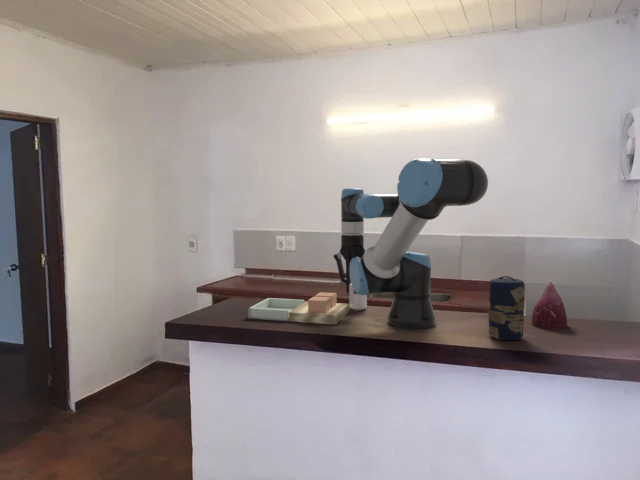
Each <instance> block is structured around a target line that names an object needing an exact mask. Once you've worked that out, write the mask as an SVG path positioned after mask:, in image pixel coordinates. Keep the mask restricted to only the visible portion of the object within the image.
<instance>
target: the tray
mask: <svg viewBox="0 0 640 480" xmlns="http://www.w3.org/2000/svg"><path fill="white" fill-rule="evenodd" d="M304 302H305V299H297V298H296V299H294V298H293V299H292V298H277V297H274V298H273V297H267V298H266V299H263V300H261V301H260V302H257V303H256V304H254V305H252V306H250V307H248V308H247V314H248V315H247V317H248V319H250V320H251V319H252V320H265V321H280V322H281V321H282V322H290V321H289V312H290V311H292V310H293V309H295V308H296V307H298V306H299V305H301V304H302V303H304Z"/></svg>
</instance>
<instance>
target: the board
mask: <svg viewBox="0 0 640 480" xmlns="http://www.w3.org/2000/svg"><path fill="white" fill-rule="evenodd" d="M349 313H350V304H349V303H341V302H338V303H337V304H336V305H335V306H334V307H333V308H331V309H330V310H329V311H328V312H327V313H316V312H308V300H307V301H304V303H302V304H301V305H299V306H298V307H296V308H295V309H293V310H292V311H290V312H289V321H288V322H295V323H309V324H323V325H337V324H338V323H339V322H341V321H342V319H344V317H346V316H347V315H348V314H349Z"/></svg>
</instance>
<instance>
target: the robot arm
mask: <svg viewBox="0 0 640 480" xmlns="http://www.w3.org/2000/svg"><path fill="white" fill-rule="evenodd" d="M397 180H398V182H397V185H396V186H397V188H396V190H397V193H392V194H391V193H389V194H388V193H387V194H385V193H384V194H383V193H382V194H381V193H380V194H379V193H378V194H377V193H375V194H373V193H365V194H364V189H363V188H358V187H357V188H352V187H351V188H343V189H342V190H341V195H340V196H341V198H340V201H341V202H340V204H341V207H340V208H341V209H340V210H341V212H340V213H341V216H340V217H341V218H340V219H341V220H340V221H341V222H340V223H341V227H340V228H341V229H340V231H341V236H340V237H341V239H340V240H341V243H340V244H341V245H340V246H341V247H340V249H339V251H338V252H337V253H335V254H334V255H333V258H334V260H335V262H336V264H337V265H336V266H337V270H338V275H339V279H340V281H341V283H344V284H345V285H346V287H345V288H346V290H345V291H346V294H348V298H349V299H348V300H349V301H348V304H349V305H350V304H354V303H355V294H359V295H367V296H371V295H381V294H393V298H392V299H393V300H392V302H391V305H390V308H389V311H388V315H387V324H389V325H391V326H392V327H396V328H402V329H410V330H411V329H413V330H414V329H415V330H416V329H418V330H419V329H428V328H431V327H435V326H436V325H437V323H436V321H437V320H436V319H437V318H436V314H435V312H434V309H433V304H432V301H431V284H432V283H431V279H432V278H431V275H432V273H431V271H432V262H431V257H430V255H428V254H427V253H422V252H421V253H420V252H415V251H408V250H409V249H410V247H411V246H412V245H413V243H414V241H415V240H416V238H417V237H418V236H419V235H420V233H421V231H422V230H423V228H424V227H425V225H426V224H427V223H428V221H430V220H431V221H432V220H434V219H436V218H438V217H439V216H440V214H441V213H442V211H444V209H445V208H446V207H450V206H451V207H454V206H455V207H456V206H457V207H458V206H459V207H460V206H461V207H462V206H469V205H473V204H475V203H478V202H479V201H480V200H481V199H483V197H484V196H485V194H486V192H487V190H488V186H489V178H488V175H487V173H486V171H485V170H484V168H483V167H482V166H481V165H480V164H478V163H477V162H475V161H473V160H470V159H464V158H462V159H460V158H459V159H458V158H457V159H452V158H451V159H450V158H449V159H448V158H446V159H445V158H444V159H439V158H438V159H437V158H431V157H425V158H424V157H423V158H416V159H411V160H410V161H408V162H407V163H406V164H405V165H404V166H403V167H402V169H401V171H400V173H399V175H398V178H397ZM378 218H390V220H389V221H388V223H387V225H386V227H385V228H384V230H383V231H382V232H381V235H380V236H379V238H378V240H377V242H376V243H375V245H373V246H370V247H369V248H367V249H366V250H365V248H364V247H365V246H364V241H365V240H364V237H365V236H364V235H363V234H364V229H365V228H364V224H365V223H364V219H368V220H369V219H371V220H372V219H378ZM342 258H343V259H344V260H345V268H344V265H343V261H342ZM344 269H345V270H344Z"/></svg>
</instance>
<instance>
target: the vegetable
mask: <svg viewBox="0 0 640 480" xmlns="http://www.w3.org/2000/svg"><path fill="white" fill-rule="evenodd" d="M567 318H568V317H567V312H566V308H565V305H564V302H563V299H562V298H561V295H560V294H559V293H558V291H557V289H556V287H555V285H554V284H553V282H552V281H550V282H549V283H548V284H546V286H545V288H544V290H543V292H542V294H541V296H540V297H539V299H538V300H537V301H536V303H535V305H534V306H533V310H532V313H531V318H530V319H531V325H532V324H533V325H532V326H534V327H536V326H537V328H540V327H541V329H545V328H546V330H562V329H566V328H567V327H568V319H567Z"/></svg>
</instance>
